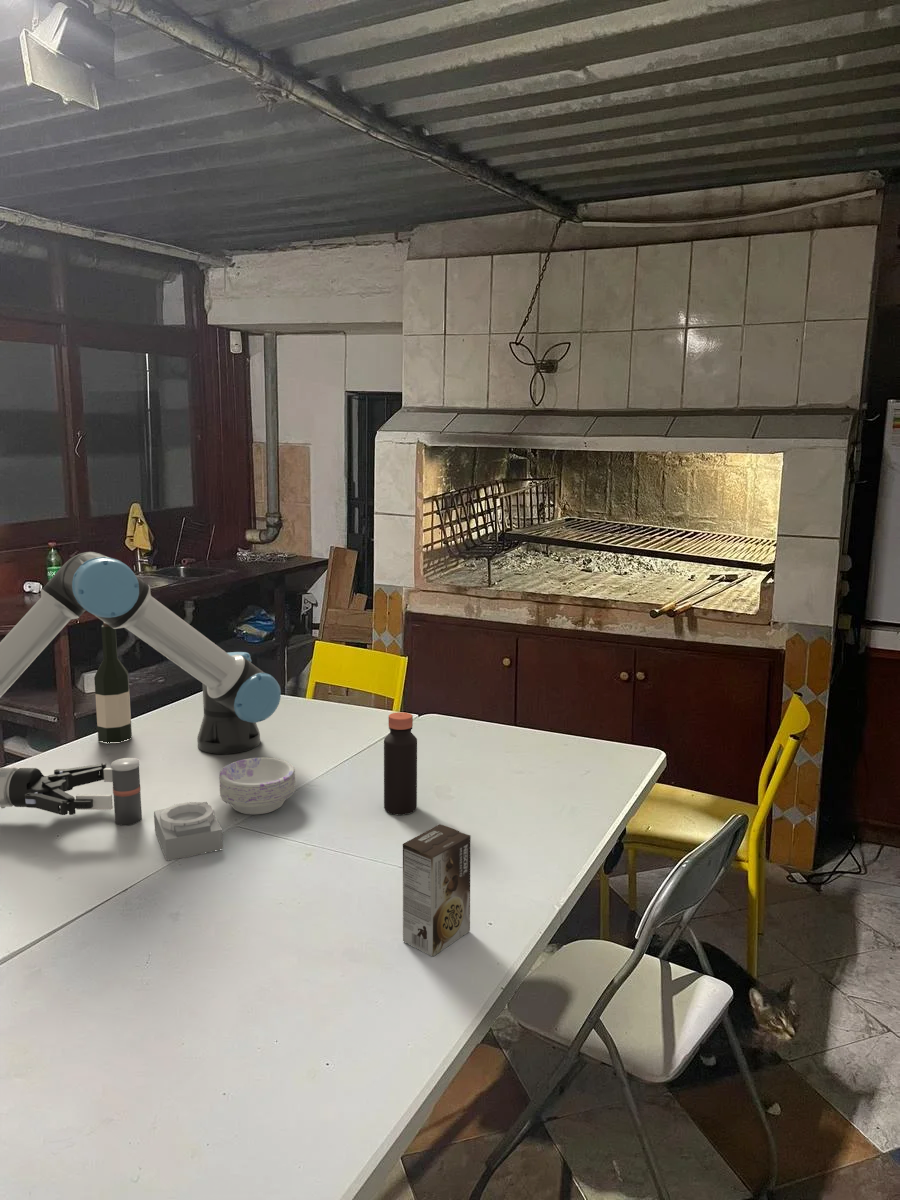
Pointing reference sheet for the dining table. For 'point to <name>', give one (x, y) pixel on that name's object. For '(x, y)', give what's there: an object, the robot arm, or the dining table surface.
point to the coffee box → (436, 889)
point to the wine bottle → (112, 693)
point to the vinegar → (400, 765)
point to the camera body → (187, 830)
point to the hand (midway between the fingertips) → (124, 788)
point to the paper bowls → (257, 784)
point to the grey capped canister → (126, 791)
